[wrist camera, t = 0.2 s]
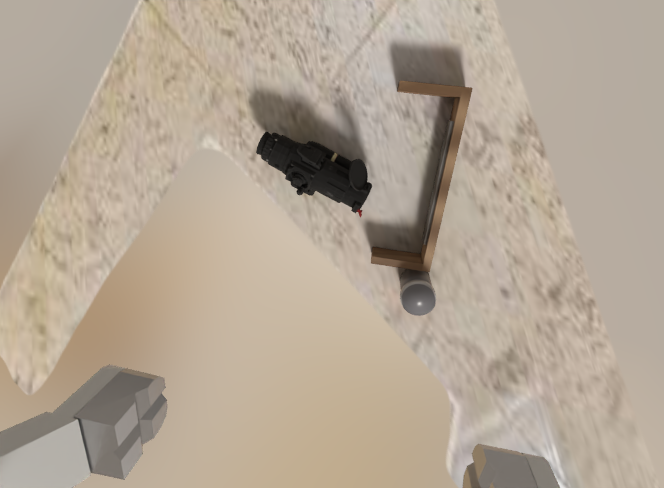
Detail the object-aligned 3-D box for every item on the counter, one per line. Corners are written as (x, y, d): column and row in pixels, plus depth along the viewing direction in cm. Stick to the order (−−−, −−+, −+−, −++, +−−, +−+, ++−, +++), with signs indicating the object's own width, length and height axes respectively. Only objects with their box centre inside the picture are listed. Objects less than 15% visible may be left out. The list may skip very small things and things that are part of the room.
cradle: (398, 82, 49) (400, 80, 45) (465, 89, 48) (472, 87, 44) (371, 253, 59) (370, 263, 55) (426, 261, 58) (429, 272, 54)
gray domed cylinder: (401, 263, 58) (404, 283, 52) (434, 268, 58) (440, 288, 52) (396, 291, 61) (397, 313, 54) (427, 296, 60) (432, 319, 54)
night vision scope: (273, 141, 56) (281, 95, 48) (368, 193, 58) (394, 157, 49) (249, 176, 53) (253, 132, 44) (351, 230, 54) (376, 198, 45)
